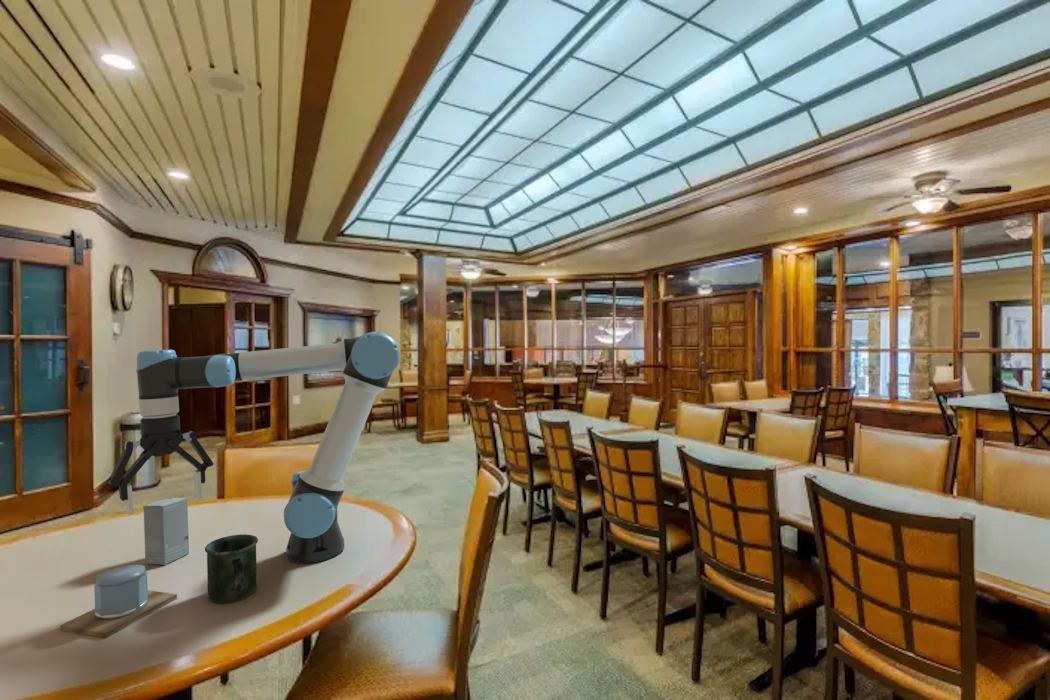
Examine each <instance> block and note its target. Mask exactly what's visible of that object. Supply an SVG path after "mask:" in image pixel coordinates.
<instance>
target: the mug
mask: <svg viewBox="0 0 1050 700" xmlns="http://www.w3.org/2000/svg"><path fill="white" fill-rule="evenodd" d="M258 543H259V538H258V537H257V536H255V535H252V534H246V533H244V534H243V533H242V534H233V535H227V536H222V537H220V538H217V539H214V540H213V541H211V542H209V543H208V544H206V546H205V548H204V551H205V552H206V561H207V562H206V566H207V567H206V568H207V571H206V572H207V573H206V574H207V578H206V579H207V599H209V601H211V602H212V603H216V604H230V603H234V602H237V601H241V600H244V599H245V598H248V597H249V596H251V595H252V594H253V593H254V592H255V591H256V589H257V585H258V581H257V578H258V577H257V575H258V573H257V572H258V571H257V544H258Z"/></svg>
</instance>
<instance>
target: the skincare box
mask: <svg viewBox="0 0 1050 700" xmlns="http://www.w3.org/2000/svg"><path fill="white" fill-rule="evenodd" d="M142 507H143V530H144V533H143V534H144V556H145V558H144V559H145V560H144V561H145V564H150V565H158V566H159V565H162V566H167V565H168V564H171V563H172V562H175V561H176V560H179V559H180V558H182V557H184V556H187V555H188V554H190V544H189V543H190V542H189V540H190V538H189V513H188V511H189V510H188V507H189V506H188V498H187V497H168V498H164V499H161V500H156V501H154V502H151V503H148V504H145V505H143V506H142Z"/></svg>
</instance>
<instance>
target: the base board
mask: <svg viewBox="0 0 1050 700" xmlns="http://www.w3.org/2000/svg"><path fill="white" fill-rule="evenodd" d="M177 599H178V594H176V593H171V592H164V591H156V590H149V589H148V599H147V605H146V606H145V607H144V608H143V609H142V610H140V611H138V612H136V613H134V614H132V615H129V616H126V617H123V618H119V619H114V620H98V619H96V618H95V608H93V609H91V610H89V611H87V612H85V613H83V614H81V615H79V616H77V617H75V618H72V619H70V620H68V621H67V622H64V623H63V624H61V625H60V626H59V627H60V628H59V629H60V631H61V632H62V631H63V632H69V633H75V634H80V635H86V636H91V637H97V638H102V639H103V638H104V639H107V638H108V637H110V636H112V635H114V634H116V633H117V632H119V631H121V630H123V629H125V628H127V627H129V626H130V625H133V624H134V623H135V622H138V621H139V620H141V619H143V618H145V617H146V616H149V615H150V614H152V613H153V612H155V611H157V610H160V609H161V608H163V607H164V606H166V605H169V604H170V603H171V602H174V601H175V600H177Z"/></svg>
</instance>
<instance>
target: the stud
mask: <svg viewBox="0 0 1050 700" xmlns="http://www.w3.org/2000/svg"><path fill="white" fill-rule="evenodd" d="M146 605H147V600H146V601H145V602H144V603H143V604H142V605H141V606H140V607H138V608H135V609H132V610H129V611H127V612H124V613H121V614H115V615H105V616H101V615H99V614H98V613H97V612H96V611H95V618H96V619H98V620H114V619H119V618H123V617H126V616H129V615H132V614H134V613H136V612H138V611H140V610H142V609H143V608H144V607H145V606H146Z"/></svg>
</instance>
